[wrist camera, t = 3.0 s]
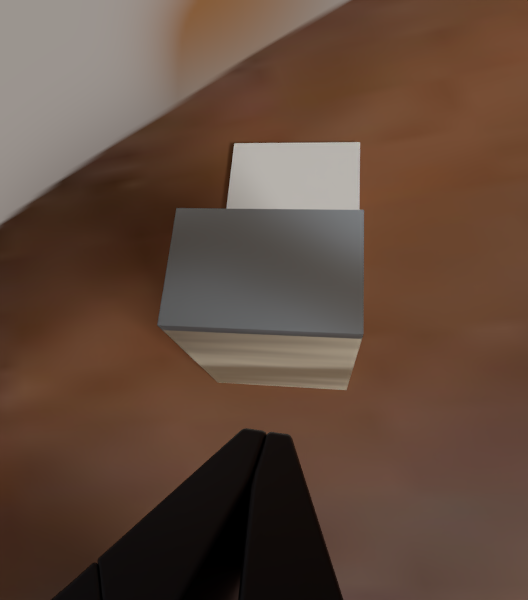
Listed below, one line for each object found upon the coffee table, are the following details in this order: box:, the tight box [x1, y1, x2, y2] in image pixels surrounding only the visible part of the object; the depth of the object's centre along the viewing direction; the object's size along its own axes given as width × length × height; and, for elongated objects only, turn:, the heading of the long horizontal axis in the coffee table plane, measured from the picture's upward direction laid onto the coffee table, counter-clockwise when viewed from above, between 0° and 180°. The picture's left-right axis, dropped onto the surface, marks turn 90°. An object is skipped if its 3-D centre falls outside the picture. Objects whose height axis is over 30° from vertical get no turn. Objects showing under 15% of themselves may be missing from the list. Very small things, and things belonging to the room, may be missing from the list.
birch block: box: [158, 208, 364, 390], centre depth 19 cm, size 4×6×9 cm, turn 86°
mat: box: [226, 142, 360, 210], centre depth 25 cm, size 9×7×1 cm
